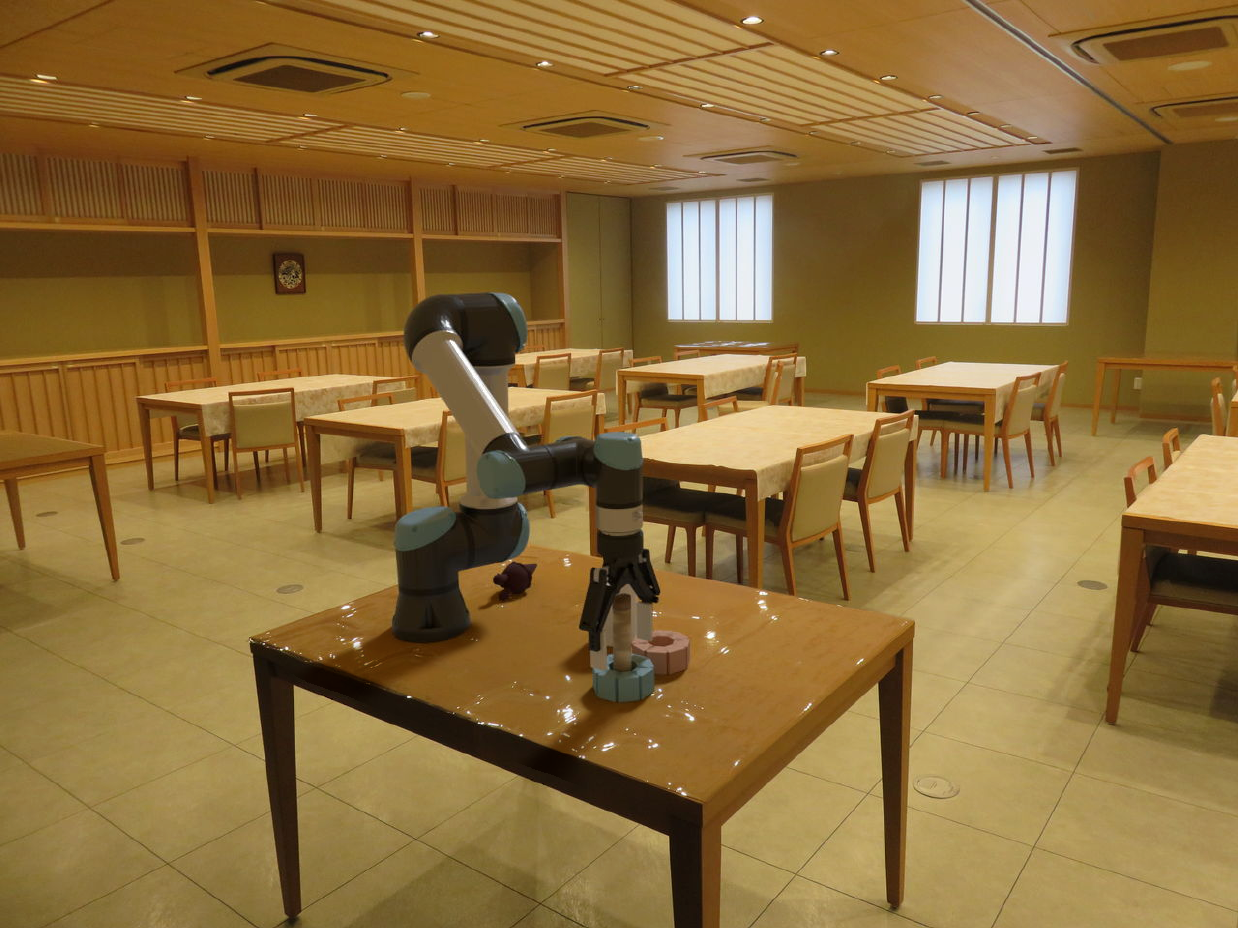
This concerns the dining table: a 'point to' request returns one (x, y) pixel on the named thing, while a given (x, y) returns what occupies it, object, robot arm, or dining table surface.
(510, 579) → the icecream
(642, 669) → the bead
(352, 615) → the dining table surface
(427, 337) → the robot arm
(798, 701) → the dining table surface
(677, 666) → the bead terracotta
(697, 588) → the dining table surface
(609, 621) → the mug
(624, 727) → the dining table surface
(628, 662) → the wooden dowel handle
